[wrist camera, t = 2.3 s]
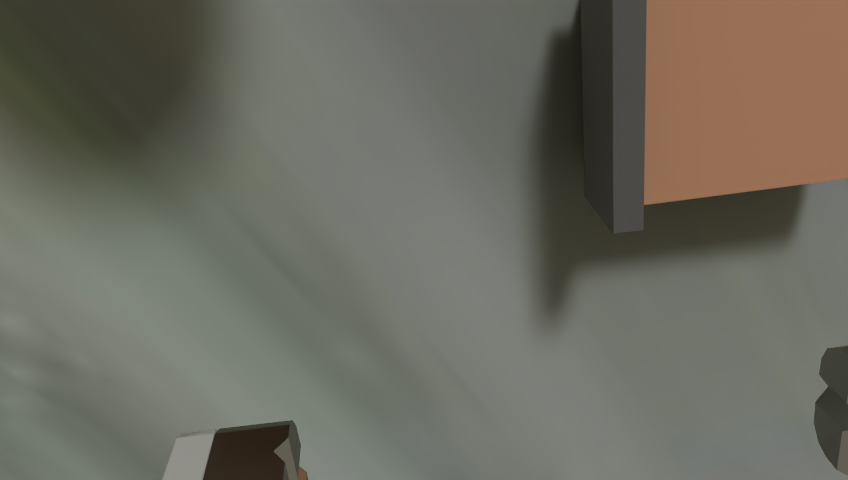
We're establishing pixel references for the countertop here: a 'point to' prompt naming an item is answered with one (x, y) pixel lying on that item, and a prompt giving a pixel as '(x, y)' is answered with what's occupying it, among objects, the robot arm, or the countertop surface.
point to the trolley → (710, 99)
